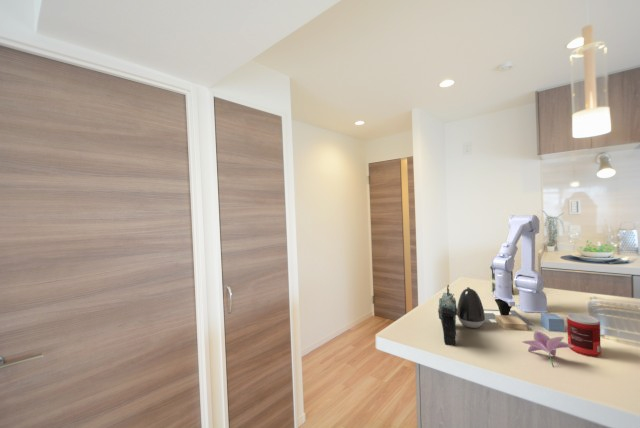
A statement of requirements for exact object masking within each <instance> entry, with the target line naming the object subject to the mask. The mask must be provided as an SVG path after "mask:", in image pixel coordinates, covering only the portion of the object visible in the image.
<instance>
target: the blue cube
mask: <svg viewBox="0 0 640 428" xmlns="http://www.w3.org/2000/svg"><path fill="white" fill-rule="evenodd" d="M540 325H541V326H542V327H543V328H544V329H546V330H547V331H548V332H558V333H559V332H560V333H561V332H562V333H565V318H563V317H561V316H559V315H558V314H555V313H540Z"/></svg>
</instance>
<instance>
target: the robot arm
mask: <svg viewBox="0 0 640 428" xmlns="http://www.w3.org/2000/svg"><path fill="white" fill-rule="evenodd" d="M508 226H509V232H508V236H507V239H506V241H505V242H503V243H501V246H500V248H499V251H498V253H497V255H496V256H495V257H493V258H492V259H491V264H490V267H491V266H492V268H493V273H494V274H495V291H494V293H493V294H492V297H493V299H494V301H495V303H496V305H497V307H498V310H499V311H500V314H501V315H509V312H510V310H512V308H513V307H516V308H518V309H519V310H520V311H522V312H523V313H537V314H538V313H539V314H549V311H548V301H547V300H548V299H547V294H546V293H545V292H544V291H543V290H544V288H545V283H544V282H545V281H544V277H543V275H542V274H541V273H540V272H539V271H538V270H536V235H537V234H540V219H539V217H538V216H537V215H535V214H531V215H516V214H513V215H511V216H510V217H509V219H508ZM520 238H521V257H520V258H521V260H520V261H521V264H520V265H521V266H520V267H521V268H520V269H518V270H517V271H515V273H514V277H513V286H514V287H515V288H517V290H518V294H519V295H518V296H519V298H518V299H519V300H518V301H519V304H516V301H515V300H514V298H513V295H512V283H511V272H513V270H514V267H515V256H516V254H517V251H518V249H519V248H518V246H517V244H518V242H519V240H520Z"/></svg>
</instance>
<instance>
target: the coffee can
mask: <svg viewBox="0 0 640 428" xmlns="http://www.w3.org/2000/svg"><path fill="white" fill-rule="evenodd" d="M489 268H490V283H491V284H490V287H491V288H490V289H491V291H490V292H491V293H493V294H494V291H495V274H494V273H493V268H492V266H491V265H490V267H489ZM513 275H514V274H513V271H512V272H511V283H512V296H514V277H513Z"/></svg>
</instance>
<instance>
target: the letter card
mask: <svg viewBox="0 0 640 428" xmlns="http://www.w3.org/2000/svg"><path fill="white" fill-rule="evenodd" d="M483 309H484V314H485V320H484V322H483V324H487V325H488V324H489V325H499V324H498V323H497V322H496V321H495V315H501V314H500V311H499V309H485V308H483ZM509 315H510V316H517V317H519V318H520V319H521V320H522V321H524V322H525V323H526V324H527V326H530V327H531V326H536V325H534V324H533V323H532V322H530V321H529V320H528V319H527V318H525V317H524V316H522V315H521V314H520V313H519V312H517V311H516V310H512V309H510V312H509Z"/></svg>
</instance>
